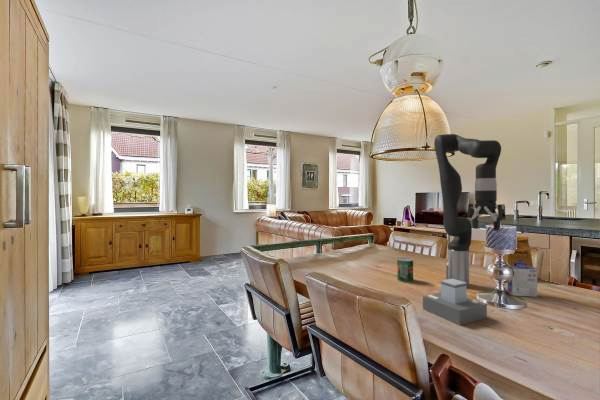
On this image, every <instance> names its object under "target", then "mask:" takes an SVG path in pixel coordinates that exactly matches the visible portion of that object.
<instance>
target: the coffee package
mask: <svg viewBox="0 0 600 400" xmlns="http://www.w3.org/2000/svg"><path fill="white" fill-rule="evenodd" d="M516 237H517V249H516V252H515V253H514V254H509V255H506V256H504V260H505V262H507V263H508V264H509V265H510V266H516V262H515V261H524V262H525V265H526V266H531V267H533V259H532V258H533V257H532V252H531V248H530V241H529V236H516ZM517 264H523V263H517Z"/></svg>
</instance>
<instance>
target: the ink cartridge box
mask: <svg viewBox="0 0 600 400" xmlns="http://www.w3.org/2000/svg"><path fill="white" fill-rule="evenodd" d="M515 262H516V266H510V267H511V268H512V269H513V271H514V278H513V279H512V280H511V281H510V282H508V283H507V282H506V283H507V293H508V294H509V295H511V296H516V297H517V296H518V297H519V296H520V297H538V268H537V267H531V266H526V265H525V262H524V261H515ZM517 263H523V264H517Z"/></svg>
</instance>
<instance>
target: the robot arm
mask: <svg viewBox="0 0 600 400" xmlns="http://www.w3.org/2000/svg"><path fill="white" fill-rule="evenodd" d="M434 151H435V155H436V160H437V164H438V170H439V171H438V172H439V177H440V178H439V182H440V188H441V189H440V190H441V194H442V195H441V196H442V205H443V206H442V207H443V226H444V230H445V233H446V234H447V235H448V236H450V237H453V239H452V240H451V241H450V242H449V243H447V263H446V265H445V267H446V269H445V270H446V271H445V274H446V275H445V280H447V279H456V280H459V281H463V282H466V283H467V287H469V286H470V247H471V244H472V234H473V233H472V232H473V231H472V230H473V229H474V230H475V229H476V230H477V229H479V218H480V217H481V216H482V215H485V216H488V215H489V216H490V217H491V218H492V220H493V231H494V232H495V231H496V232H498V231H500V229H501V221H504V220H506V205H505V204H504V203H501V204H497V200H498V192H497V191H498V189H497V186H498V184H497V166H498V163H499V160H500V156H501V152H502V146H501V143H500V142H499V141H498V140H493V139H492V140H487V139H486V140H481V139H480V140H479V139H475V138H468V137H467V138H466V137H464V136H460V135H458V134H455V133H448V134H447V133H446V134H445V133H444V134H437V135H436V136H435V138H434ZM454 152H460V153H461V154H464V155H467V156H471V158H475V159H486V160H485V162H484V163H480V164H477V165H476V167H475V181H474V201H475V203H468V205H467V217H465V216H459V213H458V204H459V200H460V198H461V195H462V192H463V184H462V178H461V175H460V173H459V172H458V171H457V170H456V169H455V167H454V166H453V165H452V164H451V162H450V161H449V159H448V155H447V154H448V153H449V154H450V153H454ZM496 210H497V211H496ZM470 219H471V220H472V222H471V220H470ZM472 228H473V229H472Z"/></svg>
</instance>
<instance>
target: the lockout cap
mask: <svg viewBox="0 0 600 400" xmlns="http://www.w3.org/2000/svg"><path fill="white" fill-rule="evenodd" d="M440 287H441V288H440V291H441V292H440V293H441V299H443V300H446V301H448V302H451V303H454V304H458V303H462V302H467V298H468V297H467V294H468V293H467V283H466V282H463V281H459V280H456V279H447V280H446V279H443V280H440Z"/></svg>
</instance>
